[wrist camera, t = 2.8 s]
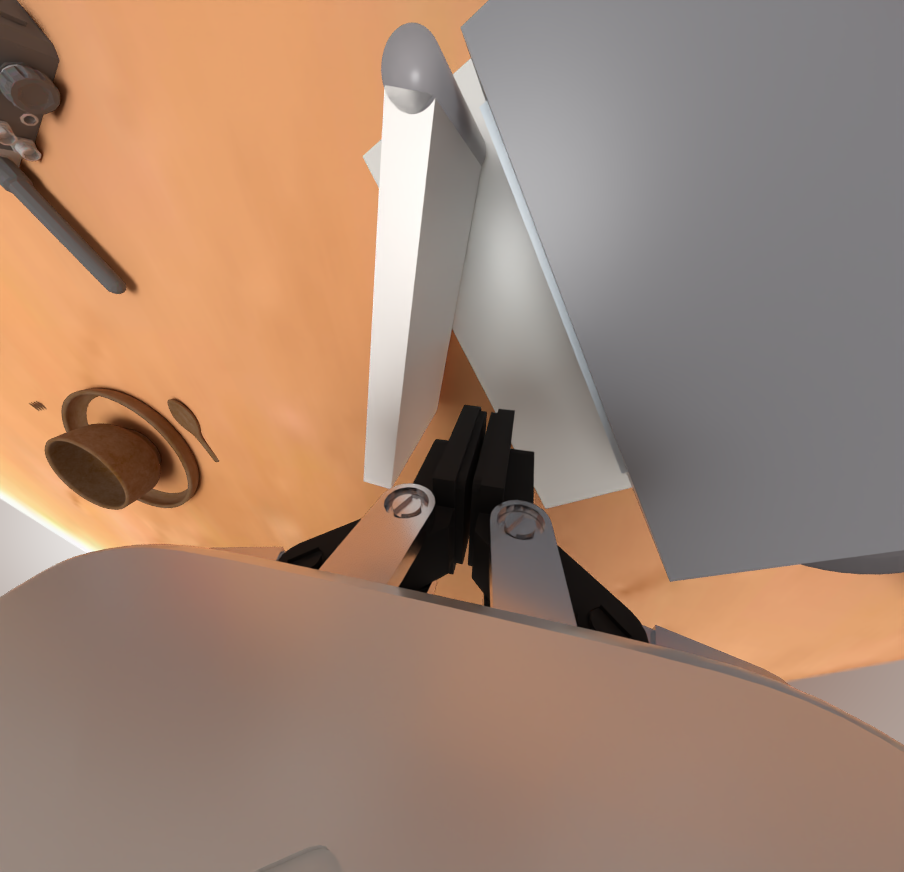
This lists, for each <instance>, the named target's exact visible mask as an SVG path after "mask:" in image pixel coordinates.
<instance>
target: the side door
mask: <svg viewBox="0 0 904 872" xmlns="http://www.w3.org/2000/svg"><path fill="white" fill-rule="evenodd" d="M381 72H382V80H383V85H384V108H383V127H382V146H381V165H380V183H379V202H378V221H377V240H376V258H375V277H374V296H373V315H372V333H371V352H370V371H369V390H368V409H367V427H366V446H365V465H364V481H365V482H368V483H371V484H375V485H378V486H381V487H385V488H388V489H390V488H392V487H393V485H394V483H395V482H396V480H397V478H398V476H399V475H400V473H401V471H402V470H403V468H404V466H405V464H406V463H407V461H408V459H409V458H410V456H411V454H412V452H413V451H414V449H415V447H416V446H417V444H418V442H419V440H420V439H421V437H422V435H423V434H424V432H425V430H426V428H427V427H428V425H429V423H430V422H431V420H432V418H433V417H434V415H435V413H436V411H437V408H438V402H439V397H440V391H441V386H442V380H443V375H444V369H445V364H446V358H447V353H448V347H449V342H450V336H451V331H452V325H453V320H454V314H455V309H456V303H457V298H458V292H459V287H460V281H461V276H462V270H463V265H464V259H465V254H466V248H467V243H468V237H469V232H470V226H471V221H472V215H473V210H474V204H475V199H476V193H477V188H478V182H479V177H480V171H481V166H482V164H483V163H484V160H485V157H486V144H485V141H484V139H483V137H482V135H481V132H480V130H479V128H478V126H477V124H476V122H475V120H474V118H473V116H472V114H471V112H470V110H469V107H468V105H467V103H466V101H465V99H464V97H463V95H462V93H461V91H460V89H459V87H458V85H457V82H456V80H455V78H454V76H453V74H452V72H451V70H450V68H449V66H448V64H447V62H446V59H445V57H444V55H443V53H442V51H441V49H440V47H439V45H438V43H437V41H436V39H435V37H434V36H433V34H432V33H431V32H430V31H429V30H428V29H427V28H426V27H424V26H422V25H420V24H417V23H407V24H404V25H402V26H400V27H399V28H397V29H396V30H395V31H394V32H393V33H392V35H391V36H390V38H389V39H388V41H387V43H386V46H385V49H384V52H383V57H382V65H381Z"/></svg>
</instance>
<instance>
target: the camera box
mask: <svg viewBox="0 0 904 872" xmlns="http://www.w3.org/2000/svg"><path fill="white" fill-rule="evenodd" d="M461 30H462V33H463V36H464V39H465V42H466V45H467V48H468V51H469V54H470V57H471V59H469V60H468V61H467V62H466V63H465V64H464V65H463V66H462V67H461V68H460V69H458V70H457V71H456V72H455V73H454V74H453V76H454V78H455V80H456V82H457V85H458V87H459V89H460V91H461V93H462V95H463V97H464V99H465V101H466V103H467V105H468V107H469V110H470V112H471V114H472V116H473V118H474V120H475V122H476V124H477V126H478V128H479V130H480V132H481V135H482V137H483V139H484V141H485V144H486V157H485V160H484V163H483V164H482V166H481V171H480V177H479V182H478V188H477V193H476V199H475V204H474V210H473V215H472V221H471V226H470V232H469V237H468V243H467V248H466V254H465V259H464V265H463V270H462V276H461V281H460V287H459V292H458V298H457V303H456V309H455V314H454V320H453V325H452V330H453V332H454V333H455V335H456V337H457V339H458V341H459V343H460V345H461V347H462V349H463V351H464V353H465V355H466V357H467V358H468V360H469V362H470V364H471V366H472V368H473V370H474V372H475V374H476V376H477V378H478V380H479V382H480V383H481V385H482V387H483V389H484V391H485V393H486V395H487V397H488V399H489V401H490V403H491V405H492V407H493V409H494V410H495V412H496V413H498V409H506V410H515V415H514V423H513V431H512V440H511V443H512V445H513V447H514V449H517V450H525V451H533V452H534V487H535V489H536V491H537V493H538V495H539V497H540V499H541V501H542V503H543V505H544V507H545V509H547V508H551V507H555V506H559V505H563V504H567V503H571V502H575V501H579V500H583V499H587V498H591V497H595V496H599V495H603V494H607V493H611V492H616V491H620V490H624V489H628V488H633V491H634V493H635V496H636V498H637V501H638V503H639V506H640V508H641V511H642V513H643V516H644V518H645V521H646V523H647V526H648V528H649V531H650V533H651V536H652V538H653V541H654V543H655V546H656V548H657V551H658V553H659V556H660V558H661V560H662V563H663V565H664V568H665V570H666V573H667V575H668V578H669V580H670V582H671V581H678V580H686V579H693V578H700V577H708V576H715V575H723V574H730V573H738V572H745V571H753V570H760V569H767V568H775V567H782V566H790V565H797V564H802V565H805V566H808V567H813V568H818V569H822V570H828V571H835V572H841V573H853V574H892V573H902V572H904V0H488V1H487V2H486V3H485V4H484V5H483V6H482V7H481V8H480V9H479V10H478V11H477V12H476V13H475V14H474V15H473V16H472V17H471V18H470V19H469V20H468V21H467V22H466V23H465V24H464V25H463V26H462V27H461ZM381 146H382V139H381V140H380V141H379V142H378V143H377V144H376V145H375V146H374V147H372V148H371V149H370V150H369V151H368V152H367V153H366V154H365V155H364V156H363V158H364V160H365V162H366V164H367V166H368V168H369V170H370V172H371V174H372V176H373V177H374V179H375V181H376V183H377V185H378V187H379V183H380V165H381Z"/></svg>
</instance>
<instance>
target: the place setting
mask: <svg viewBox="0 0 904 872" xmlns="http://www.w3.org/2000/svg"><path fill="white" fill-rule="evenodd" d="M98 396H101V397H105V398H108V399H110V400H113V401H115V402H118V403H119V404H121V405H123V406H125V407H127V408H129V409H130V410H132V411H133V412H135V413H136V414H138V415H139V416H141V417H142V418H143V419H145V420H146V421H147V422H148V423H149V424H151V425H152V426H153V427H154V428H155V429H156V430H157V431H158V432H159V433H160V434H161V435H162V436H163V437H164V438H165V439H166V440H167V442H168V443H169V444H170V445H171V447H172V448H173V449H174V451H175V452H176V454H177V455H178V457H179V459H180V461H181V462H182V465H183V467H184V469H185V472H186V475H187V480H188V489H187V490H185V491H183V492H180V493H165V492H161V491H158V490H154V489H152V488H153V487H154V486H155V485H156V484H157V482H158V480H159V478H160V465H159V464H160V463H161V456H160V453H159V451H158V450H157V448H156V447H155V445H154V444H153V443H152V442H151V441H150V440H149V439H148V438H147V437H145V436H144V435H142V434H141V433H139V432H137V431H134V430H130V429H124V428H121V427H118V426H115V425H110V424H91V425H88V422H87V415H86V412H87V407H88V404H89V403H90V401H91V400H92V399H94V398H95V397H98ZM36 402H37V401H36ZM31 403H32V402H31ZM34 403H35V402H34ZM34 403H32V404H33V405H32V404H30V403H29V404H30V405H32V406H33V407H34V408H36V409H37V410H39V409H40V410H41V408H42V409H43V407H44V408H45V409H46V407H45V406H44V405H42V404H41V403H39V402H37V403H38V404H37V403H35V404H34ZM39 404H40V405H41V406H40V405H39ZM34 405H35V406H36V407H35V406H34ZM37 405H38V406H37ZM168 406H169V409H170V411H171V413H172V415H173V417H174V418H175V419H176V421H177V422H178V423H179V424H180V425H181V426H183V427H184V428H185V429H186V430H188V431H189V432H190V433H192V434H193V435H194V436H195V437H196V438H197V440H198V441H199V442H200V443H201V444H202V446H203V447H204V448H205V449H206V451H207V452H208V453H209V455H210V456H211V457H212V458H213V460H214V461H215V462H219V460H218V458H217V457H216V455H215V454H214V452H213V451H212V450H211V448H210V447H209V446H208V444H207V443H206V442H205V440H204V439H203V437H202V435H201V430H200V425H199V423H198V421H197V419H196V418H195V416H194V415H193V413H192V412H191V411H190V410H189V409H188V408H187V407H186V406H184V405H183V404H182V403H180V402H179V401H176V400H174V399H171V400H168ZM40 407H41V408H40ZM38 408H39V409H38ZM43 410H44V409H43ZM62 420H63V424H64V427H65V430H66V432H67V433H64V434H62V435H59V436H57V437H55V438H52V439H50V440H48V441H47V443H46V445H45V455H46V458H47V460H48V462H49V464H50V466H51V468H52V469H53V470H54V472H55V473H56V474H57V475H58V477H59V478H60V479H61V480H62V481H63V482H64V483H65V484H66V485H67V486H68V487H69V488H71V489H72V490H73V491H74V492H76V493H77V494H78V495H80V496H81V497H83V498H84V499H86V500H88V501H90V502H91V503H93V504H96V505H98V506H100V507H103V508H107V509H114V510H118V509H123V508H125V507H126V506H128V505H129V504H131V503H133V502H134V501H136V500H138V501H140V502H143V503H146V504H149V505H152V506H156V507H162V508H173V507H178V506H180V505H182V504H184V503H185V502H186V501H188V500H189V499H190V498H191V497H192V496H193V494H194V493H195V491H196V489H197V486H198V482H199V472H198V467H197V463H196V461H195V458H194V456H193V454H192V452H191V450H190V448H189V447H188V445H187V444H186V442H185V441H184V439H183V438H182V437H181V435H180V434H179V433H178V432H177V431H176V430H175V428H174V427H173V426H172V425H171V424H170V423H169V422H168V421H167V420H166V419H164V418H163V417H162V416H161V415H160V414H159V413H157V412H156V411H155V410H153V409H152V408H150V407H149V406H147V405H146V404H144V403H143V402H141V401H139V400H137V399H135V398H134V397H131V396H129V395H127V394H124V393H121V392H118V391H114V390H109V389H98V388H93V389H85V390H81V391H77V392H75V393H72V394H70V395H69V396H68V397H67V398H66V399H65V400H64V402H63V405H62Z"/></svg>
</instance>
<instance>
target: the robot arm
mask: <svg viewBox="0 0 904 872" xmlns="http://www.w3.org/2000/svg"><path fill="white" fill-rule="evenodd" d="M514 415H515V410H506V409H498V413H494V412H491V416H490V420H489V423H488V427H487V431H486V418H487V412H485V411H481V407H478V406H469V405H464V407H463V409H462V411H461V414H460V416H459V418H458V421H457V423H456V425H455V427H454V430H453V432H452V434H451V437H450V439H449V441H447V440H439V439H436V440H435V441H434V443H433V445H432V447H431V449H430V451H429V453H428V455H427V457H426V459H425V461H424V463H423V465H422V467H421V469H420V471H419V473H418V475H417V477H416V479H415V481H414V483H413V484H401V485H397V486H394V487H392V488H390V489H388V490H387V491H386V492H384V493H383V494H382V495H381V496H380V498H379V499H378V500H377V501H376V502H375V504H374V505H373V506H372V507H371V508H370V509H369V511H368V512H367V513H366V514H365V515H364V517H363V518H362V519H359V520H357V521H354V522H352V523H349V524H347V525H344V526H342V527H339V528H337V529H334V530H332V531H329V532H327V533H324V534H322V535H319V536H317V537H314V538H312V539H309V540H307V541H304V542H302V543H300V544H298V545H296V546H294V547H292V548H290V549H289V550H288V551H284V549H283V547H232V548H203V547H195V546H186V545H171V544H149V545H131V546H123V547H116V548H109V549H104V550H99V551H94V552H90V553H86V554H83V555H79V556H75V557H72V558H70V559H67V560H65V561H62V562H60V563H58V564H56V565H54V566H52V567H50V568H48V569H46V570H44V571H42V572H41V573H39V574H37V575H36V576H34V577H32V578H31V579H29V580H27V581H26V582H24V583H23V584H21V585H19V586H17V587H15V588H14V589H12V590H10V591H9V592H7V593H6V594H4V595H3V596H1V597H0V872H904V745H903V744H901V743H899V742H898V741H896V740H894V739H893V738H891V737H889V736H888V735H886V734H885V733H883V732H881V731H880V730H878V729H876V728H875V727H873V726H871V725H869V724H867V723H865V722H863V721H861V720H860V719H857V718H856V717H854V716H852V715H850V714H848V713H846V712H844V711H843V710H841V709H839V708H837V707H835V706H833V705H831V704H829V703H827V702H825V701H823V700H821V699H819V698H816V697H814V696H812V695H809V694H807V693H805V692H803V691H800V690H798V689H796V688H793V687H791V686H790V685H788V684H787V683H786V682H785V681H784V680H782V679H781V678H780V677H778V676H776V675H774V674H772V673H770V672H769V671H767V670H765V669H763V668H760V667H758V666H755V665H753V664H751V663H748V662H746V661H743V660H741V659H738V658H736V657H733V656H731V655H728V654H726V653H724V652H721V651H719V650H716V649H714V648H711V647H709V646H706V645H704V644H701V643H699V642H696V641H694V640H692V639H689V638H687V637H684V636H682V635H679V634H677V633H674V632H672V631H669V630H667V629H665V628H662V627H660V626H657V625H655V626H654V628H653V629H651V628H648V627H646V626H643V625H642V624H641V623H640V621H639V620H638V619H637V618H636V616H635V615H634V614H633V613H632V612H631V611H630V610H629V609H628V608H627V607H626V606H625V605H623V604H622V603H621V602H620V601H619V600H618V599H617V598H616V597H615V596H613V595H612V594H611V593H610V592H609V591H608V590H607V589H606V588H604V587H603V586H602V585H601V584H600V583H599V582H598V581H597V580H596V579H594V578H593V577H592V576H591V575H590V574H589V573H588V572H587V571H586V570H584V569H583V568H582V567H581V566H580V565H579V564H578V563H577V562H576V561H574V560H573V559H572V558H571V557H570V556H569V555H568V554H567V553H566V552H564V551H563V550H562V549H561V548H560V547H559V546H558V545H557V543H556V539H555V535H554V531H553V526H552V523H551V520H550V518H549V516H548V515H547V514H546V513H545V512H544V510H542V509H541V508H539V507H538V506H536V505H535V504H533V496H534V452H533V451H525V450H517V449H510V448H511V440H512V431H513V423H514ZM485 432H486V435H485ZM468 539H469V555H468V565H469V566H472V579H473V580H474V581H475V583H476V584H477V585H478V587H479V588H480V589H481V591H482V592H483V599H482V605H478V604H473V603H469V602H464V601H460V600H455V599H451V598H446V597H442V596H437V595H433V593H434V591H435V589H436V585H437V579H439V578H441V577H442V576H444V575H446V574H448V573H449V574H454V570H455V566H456V563H459V564H463V561H464V557H465V552H466V548H467V544H468Z"/></svg>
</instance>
